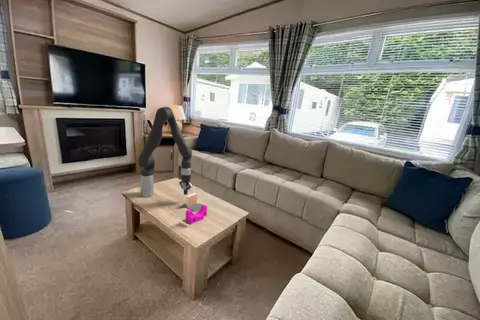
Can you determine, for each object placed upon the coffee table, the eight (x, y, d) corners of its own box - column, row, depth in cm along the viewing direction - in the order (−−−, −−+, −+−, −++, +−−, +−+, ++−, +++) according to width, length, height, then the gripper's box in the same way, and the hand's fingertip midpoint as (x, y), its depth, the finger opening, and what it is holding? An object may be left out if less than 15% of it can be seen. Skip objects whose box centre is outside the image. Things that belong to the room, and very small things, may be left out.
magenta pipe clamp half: (191, 224, 141) (191, 213, 139) (185, 220, 145) (185, 210, 143) (209, 217, 152) (209, 207, 150) (203, 213, 156) (203, 204, 154)
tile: (186, 205, 165) (186, 196, 163) (194, 202, 172) (194, 192, 170) (188, 206, 163) (188, 197, 161) (196, 203, 171) (197, 193, 169)
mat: (182, 205, 165) (182, 205, 165) (193, 201, 175) (193, 200, 175) (195, 211, 158) (195, 211, 158) (206, 206, 168) (206, 205, 168)
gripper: (176, 172, 166) (176, 193, 170) (188, 176, 159) (188, 198, 163) (183, 170, 172) (183, 190, 176) (195, 174, 165) (195, 195, 169)
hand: (185, 194), depth 170 cm, fingers closed
